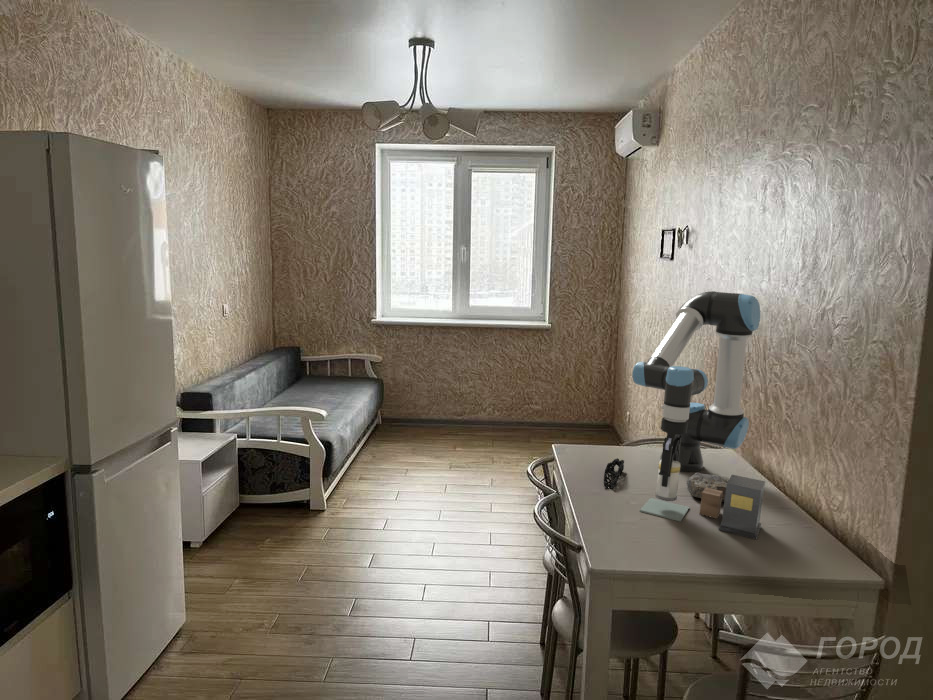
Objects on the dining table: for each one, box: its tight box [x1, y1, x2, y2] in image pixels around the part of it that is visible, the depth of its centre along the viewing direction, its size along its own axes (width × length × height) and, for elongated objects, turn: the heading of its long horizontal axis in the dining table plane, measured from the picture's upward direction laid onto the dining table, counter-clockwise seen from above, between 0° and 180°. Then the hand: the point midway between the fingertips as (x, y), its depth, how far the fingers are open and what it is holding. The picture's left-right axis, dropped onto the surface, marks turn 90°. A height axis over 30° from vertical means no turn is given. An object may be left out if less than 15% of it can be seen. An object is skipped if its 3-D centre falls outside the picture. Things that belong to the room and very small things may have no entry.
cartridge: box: [654, 459, 681, 502], centre depth 202 cm, size 6×6×11 cm
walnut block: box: [699, 488, 723, 519], centre depth 203 cm, size 5×5×7 cm
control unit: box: [718, 474, 766, 540], centre depth 192 cm, size 10×10×14 cm
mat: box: [639, 497, 690, 522], centre depth 204 cm, size 12×12×1 cm
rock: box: [686, 471, 727, 503], centre depth 217 cm, size 13×6×15 cm
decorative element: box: [603, 457, 625, 490], centre depth 229 cm, size 22×5×6 cm, turn 160°
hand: (666, 492), depth 203 cm, fingers closed on cartridge, 6 cm apart
